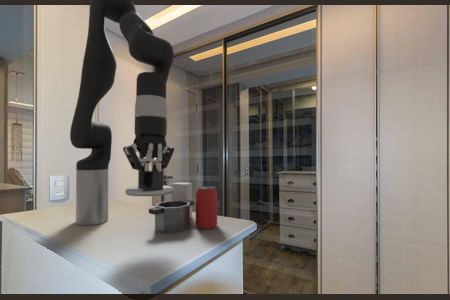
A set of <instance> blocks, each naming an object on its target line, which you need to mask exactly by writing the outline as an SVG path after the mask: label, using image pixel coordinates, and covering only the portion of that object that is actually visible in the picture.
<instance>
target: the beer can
mask: <svg viewBox="0 0 450 300" xmlns="http://www.w3.org/2000/svg"><path fill="white" fill-rule="evenodd" d="M195 192H196V193H195V227H197V228H198V229H200V230H211V229H214V228H216V227H218V191H217V189H216V186H213V185H203V186H202V185H201V186H198V187H197V190H196V191H195Z"/></svg>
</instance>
